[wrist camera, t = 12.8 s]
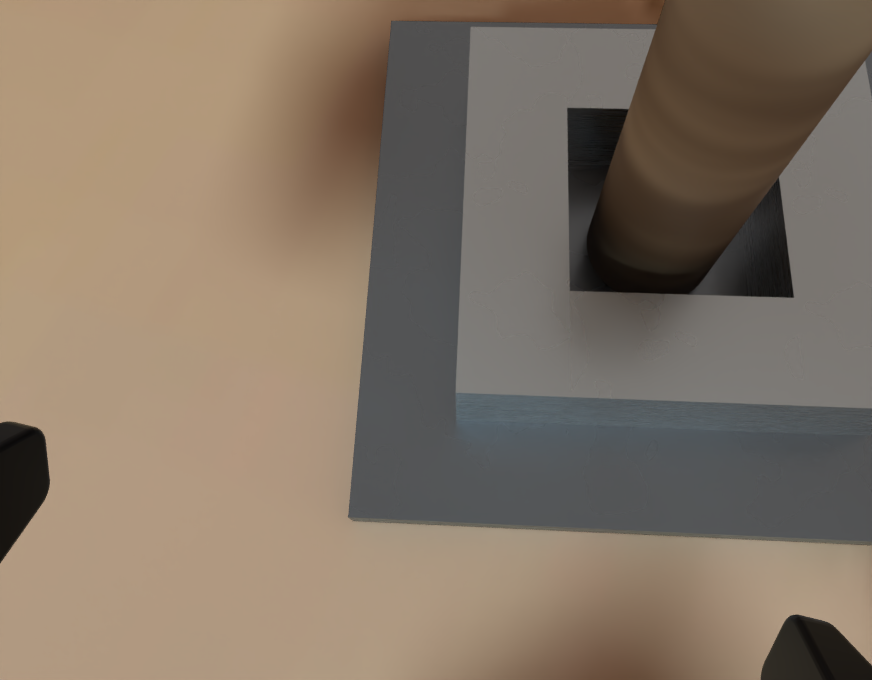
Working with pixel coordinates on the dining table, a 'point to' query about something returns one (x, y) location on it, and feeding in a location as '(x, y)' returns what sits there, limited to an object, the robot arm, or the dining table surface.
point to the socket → (602, 313)
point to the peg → (716, 130)
